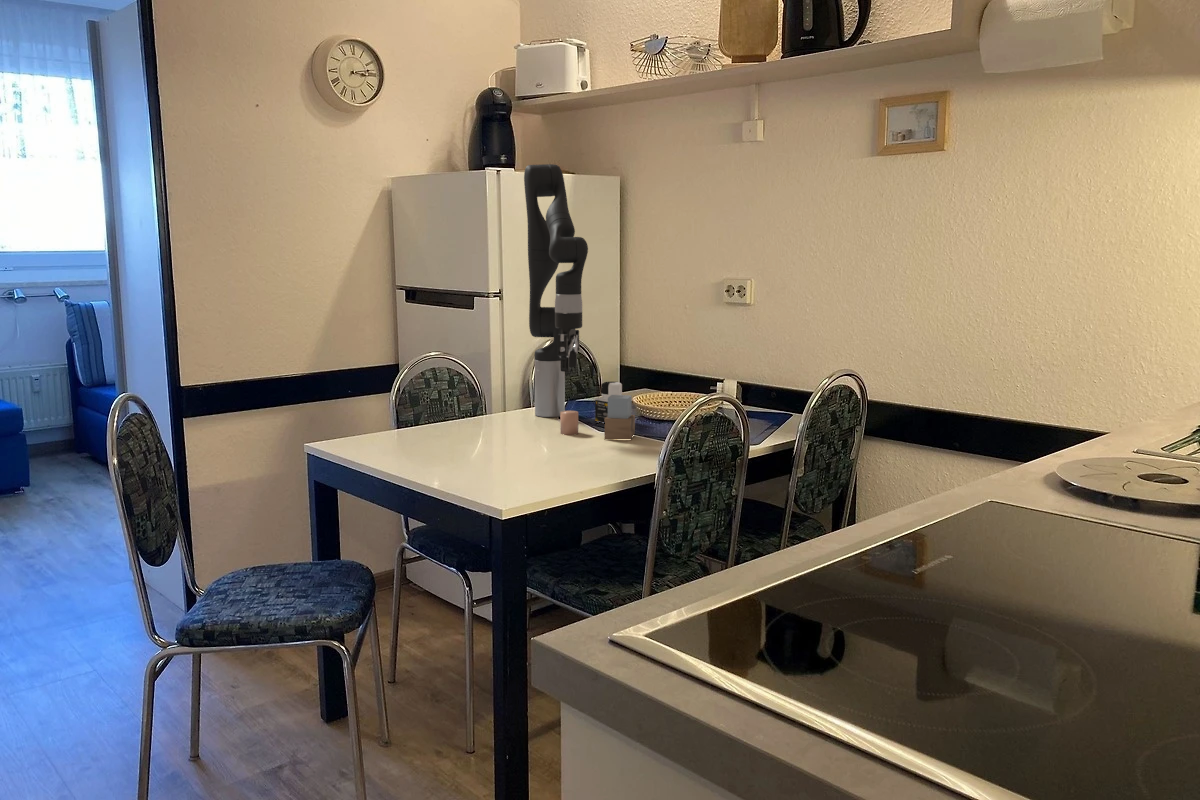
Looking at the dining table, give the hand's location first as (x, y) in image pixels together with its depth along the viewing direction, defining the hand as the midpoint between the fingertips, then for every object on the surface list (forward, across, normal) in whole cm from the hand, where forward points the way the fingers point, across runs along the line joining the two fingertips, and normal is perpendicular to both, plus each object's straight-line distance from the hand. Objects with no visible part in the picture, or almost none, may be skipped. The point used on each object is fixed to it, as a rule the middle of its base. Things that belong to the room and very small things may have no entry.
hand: (568, 369), depth 262 cm
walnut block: (+18, +3, +15) cm, 24 cm away
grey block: (+12, +3, +15) cm, 19 cm away
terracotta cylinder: (+18, 0, 0) cm, 18 cm away
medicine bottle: (+18, -19, +8) cm, 27 cm away
